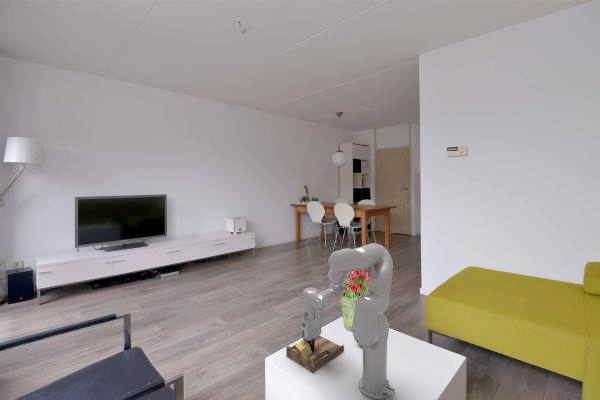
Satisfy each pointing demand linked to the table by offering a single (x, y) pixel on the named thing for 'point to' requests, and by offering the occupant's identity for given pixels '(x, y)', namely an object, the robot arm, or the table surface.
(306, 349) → the block
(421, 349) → the table surface
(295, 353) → the box
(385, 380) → the robot arm
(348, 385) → the table surface
